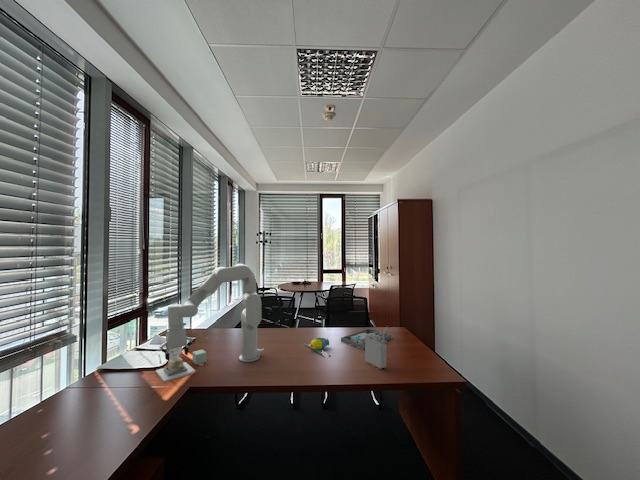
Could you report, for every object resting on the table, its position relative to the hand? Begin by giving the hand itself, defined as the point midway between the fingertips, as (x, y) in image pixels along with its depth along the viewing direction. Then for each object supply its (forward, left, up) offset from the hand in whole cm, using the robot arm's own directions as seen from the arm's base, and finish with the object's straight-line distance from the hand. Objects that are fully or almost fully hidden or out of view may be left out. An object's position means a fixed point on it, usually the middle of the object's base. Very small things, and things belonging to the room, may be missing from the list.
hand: (177, 357), depth 160 cm
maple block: (+1, 0, -7) cm, 7 cm away
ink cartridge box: (-4, -19, -9) cm, 21 cm away
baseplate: (+1, 0, -8) cm, 8 cm away
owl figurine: (-81, +30, -9) cm, 87 cm away
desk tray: (-119, +41, -8) cm, 126 cm away
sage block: (-14, -5, -9) cm, 17 cm away
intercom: (-123, +39, -9) cm, 129 cm away
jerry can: (-89, +72, -9) cm, 115 cm away
